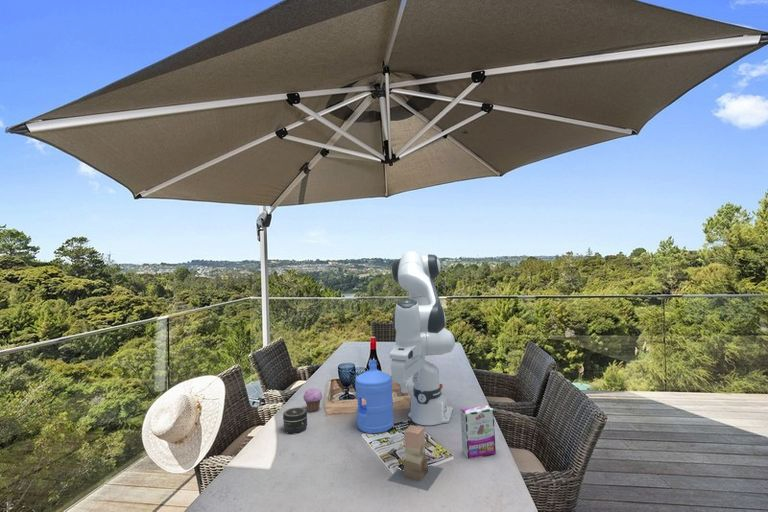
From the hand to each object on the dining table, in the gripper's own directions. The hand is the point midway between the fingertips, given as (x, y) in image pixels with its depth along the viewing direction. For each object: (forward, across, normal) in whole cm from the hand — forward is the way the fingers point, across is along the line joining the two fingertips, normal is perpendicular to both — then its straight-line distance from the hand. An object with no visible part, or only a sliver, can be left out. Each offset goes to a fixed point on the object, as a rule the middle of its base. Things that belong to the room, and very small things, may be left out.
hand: (410, 387), depth 142 cm
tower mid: (+22, +6, +4) cm, 23 cm away
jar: (+29, -6, -57) cm, 64 cm away
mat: (+27, +6, +4) cm, 28 cm away
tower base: (+27, +6, +4) cm, 28 cm away
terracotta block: (+17, +6, +4) cm, 18 cm away
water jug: (+29, -22, -27) cm, 45 cm away
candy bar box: (+28, -16, +19) cm, 37 cm away
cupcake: (+30, -26, -63) cm, 75 cm away
